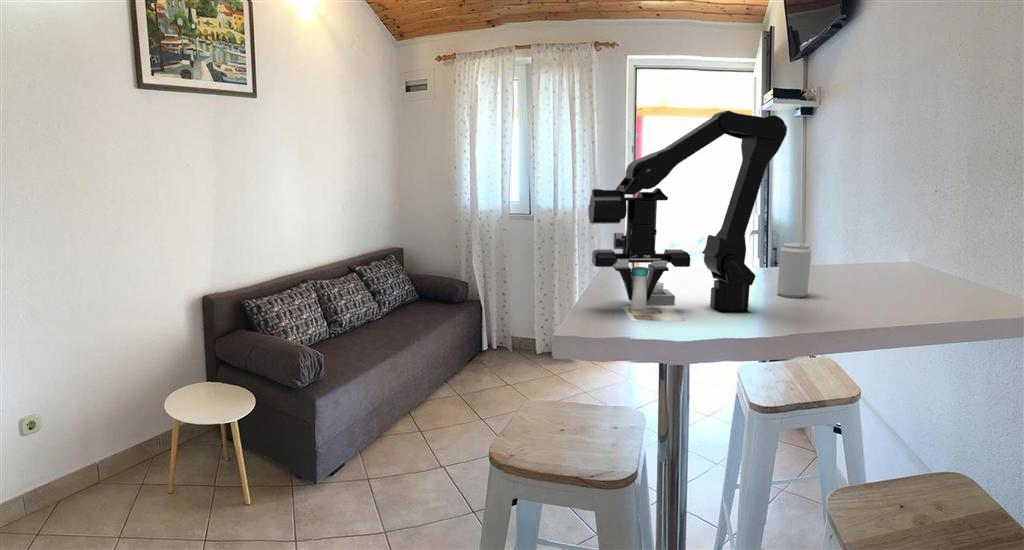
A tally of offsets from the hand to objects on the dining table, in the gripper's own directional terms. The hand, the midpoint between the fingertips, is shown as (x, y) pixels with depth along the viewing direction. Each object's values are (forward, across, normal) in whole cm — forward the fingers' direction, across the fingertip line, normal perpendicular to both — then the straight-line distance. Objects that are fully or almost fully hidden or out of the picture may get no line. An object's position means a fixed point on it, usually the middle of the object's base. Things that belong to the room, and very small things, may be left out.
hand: (638, 300), depth 122 cm
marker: (+2, 0, 0) cm, 2 cm away
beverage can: (+3, -39, -18) cm, 43 cm away
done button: (+1, -5, -8) cm, 10 cm away
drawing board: (+3, -2, +3) cm, 4 cm away
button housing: (+3, -5, -8) cm, 10 cm away
